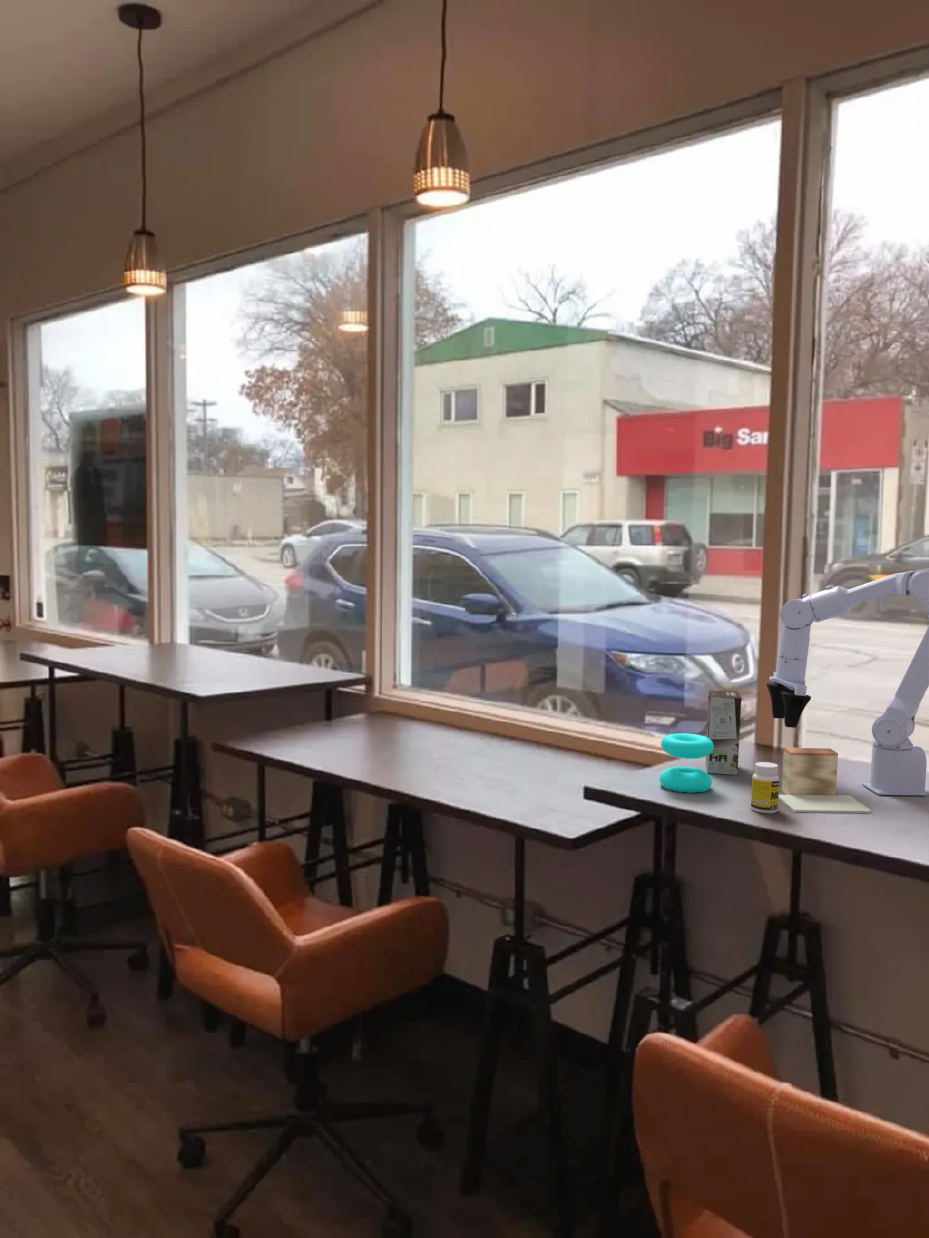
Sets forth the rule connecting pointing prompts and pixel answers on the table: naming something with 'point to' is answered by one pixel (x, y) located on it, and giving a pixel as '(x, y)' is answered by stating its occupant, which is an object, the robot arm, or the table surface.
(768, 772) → the supplement bottle
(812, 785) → the birch slab
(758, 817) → the table surface
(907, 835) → the table surface
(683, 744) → the donuts
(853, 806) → the green board
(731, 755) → the coffee box
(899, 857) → the table surface
